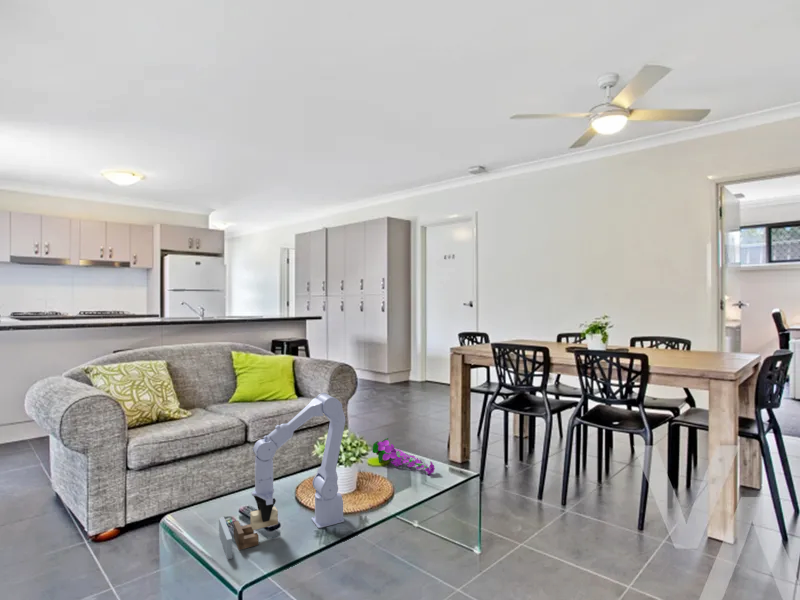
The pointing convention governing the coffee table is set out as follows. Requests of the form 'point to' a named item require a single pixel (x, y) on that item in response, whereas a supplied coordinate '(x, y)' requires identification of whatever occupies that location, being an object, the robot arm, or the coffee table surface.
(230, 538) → the backstop wall
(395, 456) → the purple flowers
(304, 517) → the coffee table surface
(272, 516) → the cream wooden bar
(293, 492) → the coffee table surface
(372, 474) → the coffee table surface
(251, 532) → the brown u-shaped bracket
